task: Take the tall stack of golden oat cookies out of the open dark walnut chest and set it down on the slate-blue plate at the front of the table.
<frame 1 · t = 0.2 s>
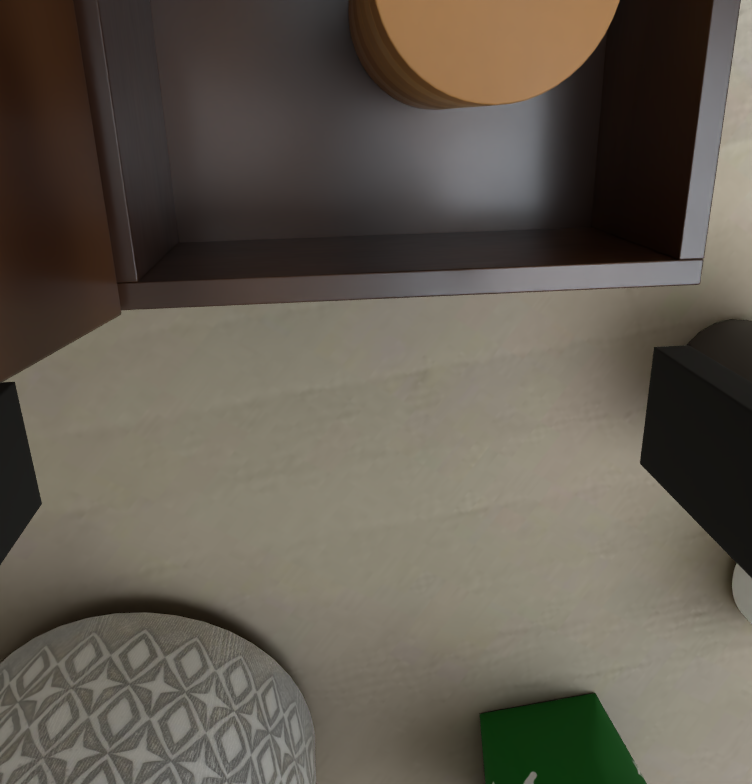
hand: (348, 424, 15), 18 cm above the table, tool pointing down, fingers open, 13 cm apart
cookies: (436, 14, 28), point 1 cm above the table, touching chest
planter: (151, 727, 41), on the table
coffee cup: (723, 369, 36), on the table
milk carton: (540, 742, 44), on the table
chest: (384, 18, 29), on the table
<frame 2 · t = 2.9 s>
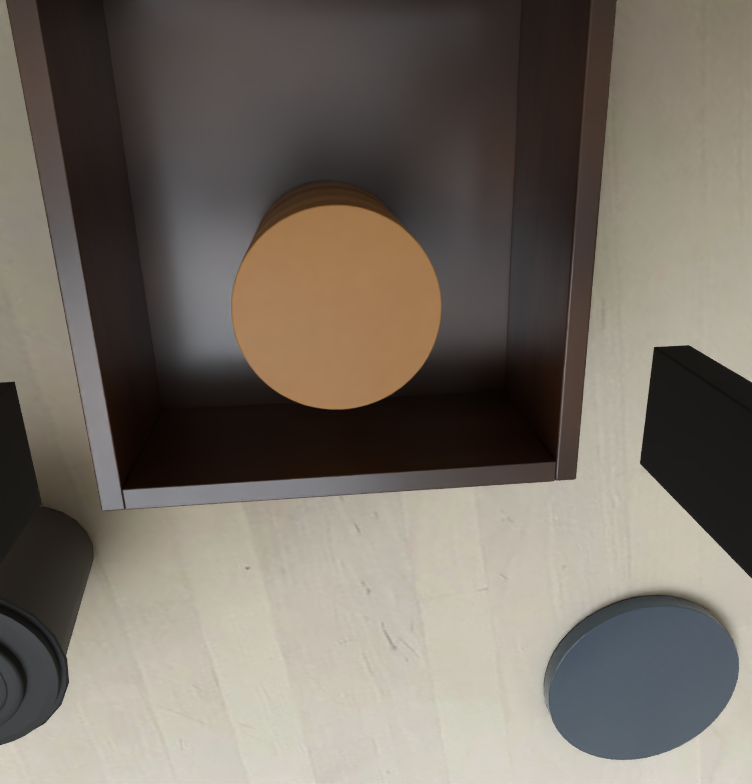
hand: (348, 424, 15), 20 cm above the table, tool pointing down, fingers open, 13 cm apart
cookies: (329, 258, 33), point 1 cm above the table, touching chest
coffee cup: (42, 548, 38), on the table
chest: (326, 212, 33), on the table
plate: (637, 674, 45), on the table
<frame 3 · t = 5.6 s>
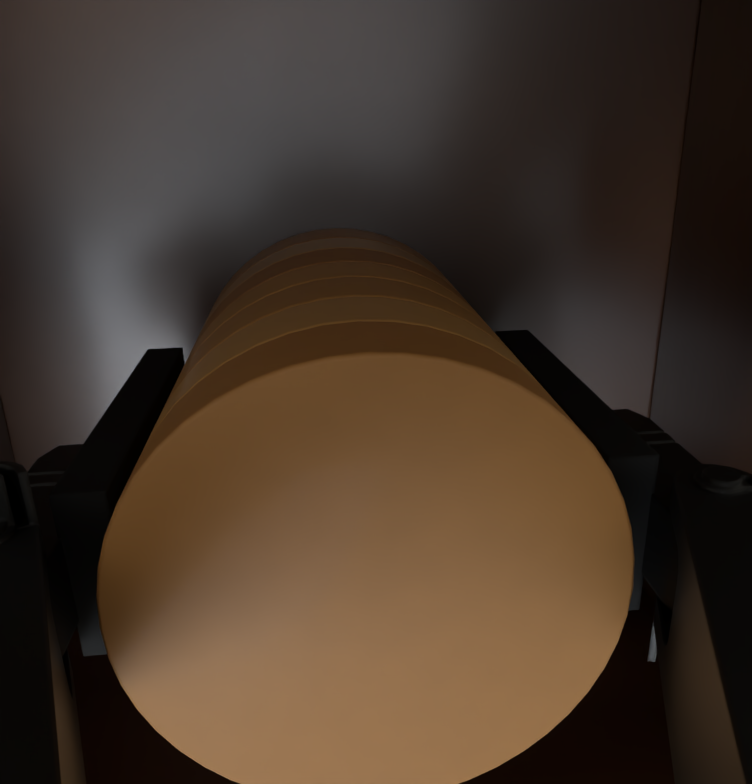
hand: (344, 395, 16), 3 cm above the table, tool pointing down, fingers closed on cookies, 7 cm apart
cookies: (339, 365, 18), point 1 cm above the table, touching chest, gripper
chest: (334, 281, 18), on the table
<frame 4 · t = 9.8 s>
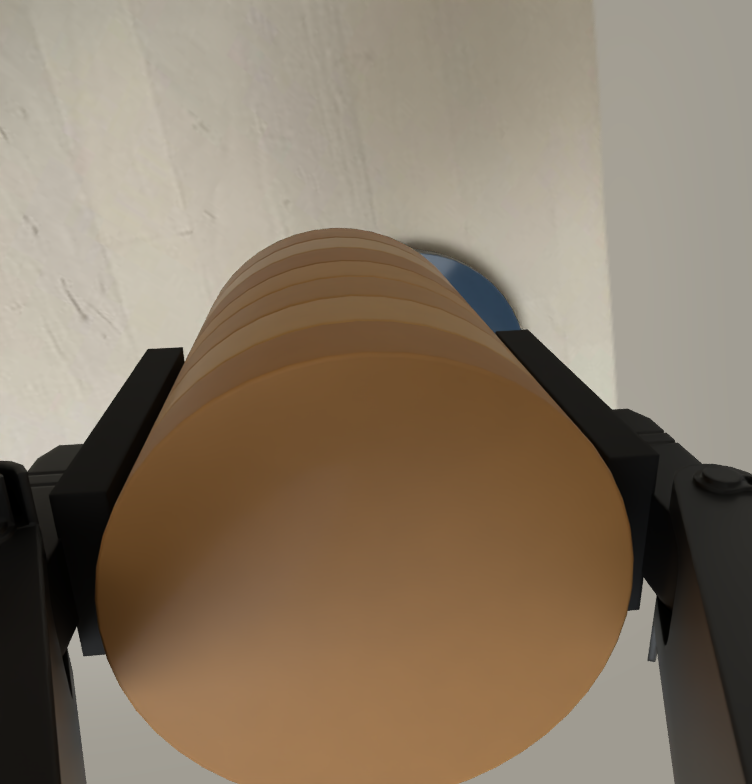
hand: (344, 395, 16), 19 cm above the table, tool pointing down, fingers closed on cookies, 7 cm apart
cookies: (339, 365, 18), point 17 cm above the table, touching gripper
plate: (405, 367, 36), on the table
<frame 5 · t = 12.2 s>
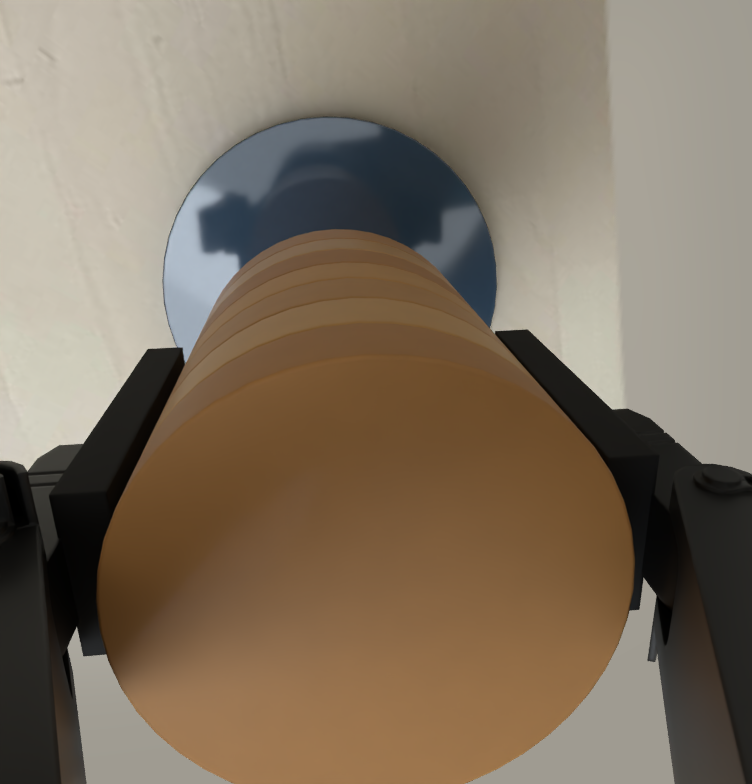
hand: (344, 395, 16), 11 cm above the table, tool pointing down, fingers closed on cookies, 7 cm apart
cookies: (339, 366, 18), point 9 cm above the table, touching gripper
plate: (332, 288, 27), on the table
when the fingers open (3 cm above the table, at t = 14.3 s): cookies stays where it is, resting on plate.
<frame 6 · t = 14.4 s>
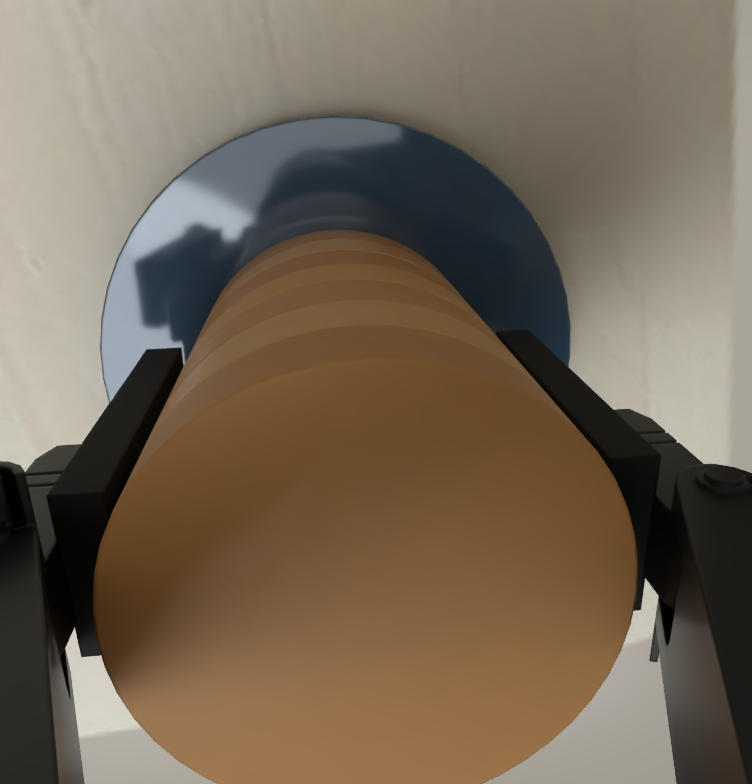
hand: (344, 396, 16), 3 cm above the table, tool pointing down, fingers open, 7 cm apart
cookies: (340, 367, 18), point 1 cm above the table, touching plate
plate: (340, 354, 19), on the table
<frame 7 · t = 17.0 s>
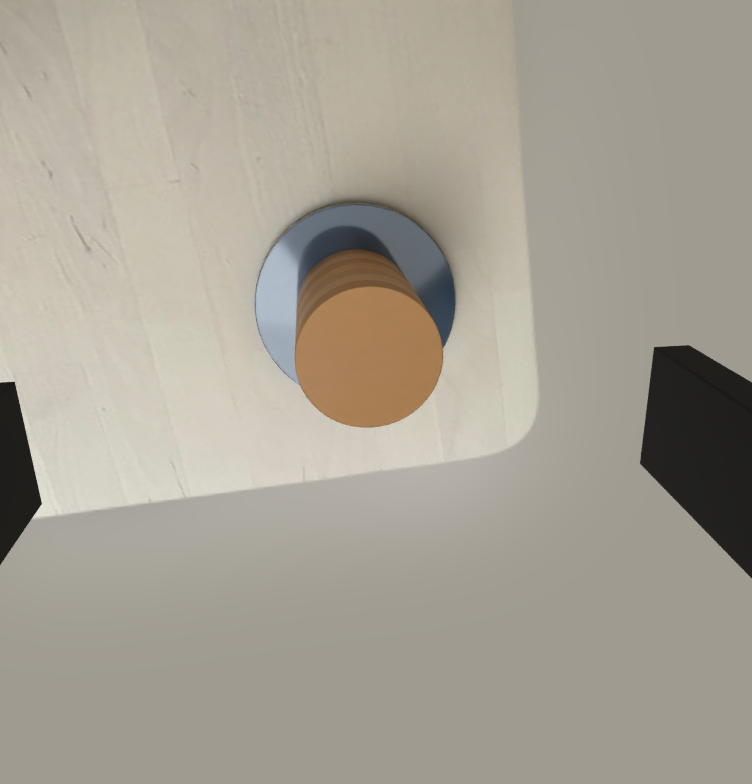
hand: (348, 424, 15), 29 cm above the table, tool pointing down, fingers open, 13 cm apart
cookies: (355, 307, 42), point 1 cm above the table, touching plate
plate: (355, 303, 43), on the table
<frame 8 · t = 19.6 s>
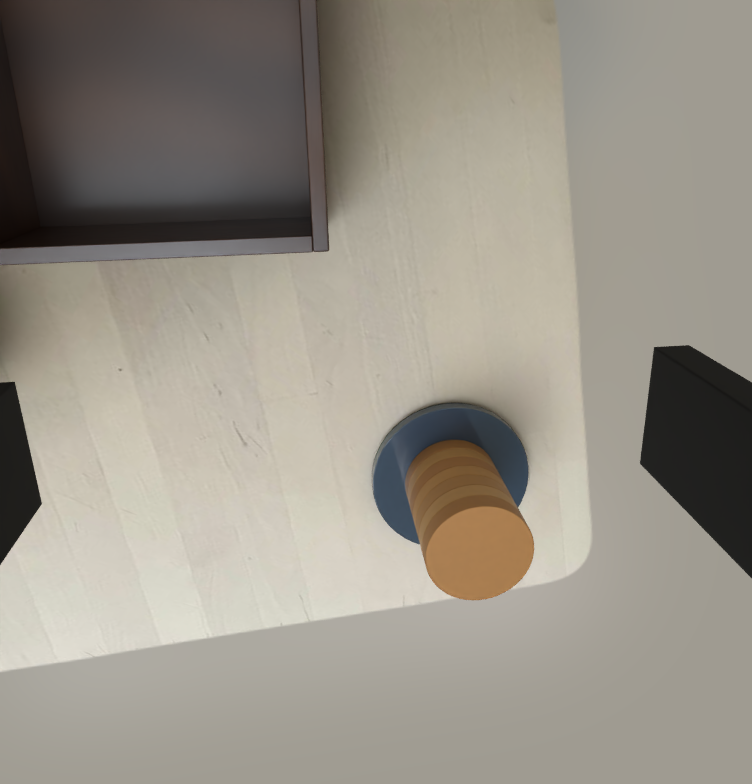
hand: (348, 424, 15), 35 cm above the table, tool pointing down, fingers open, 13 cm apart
cookies: (450, 481, 54), point 1 cm above the table, touching plate
chest: (161, 68, 43), on the table
plate: (448, 474, 55), on the table
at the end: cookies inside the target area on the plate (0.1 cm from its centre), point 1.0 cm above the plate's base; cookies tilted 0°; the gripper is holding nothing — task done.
